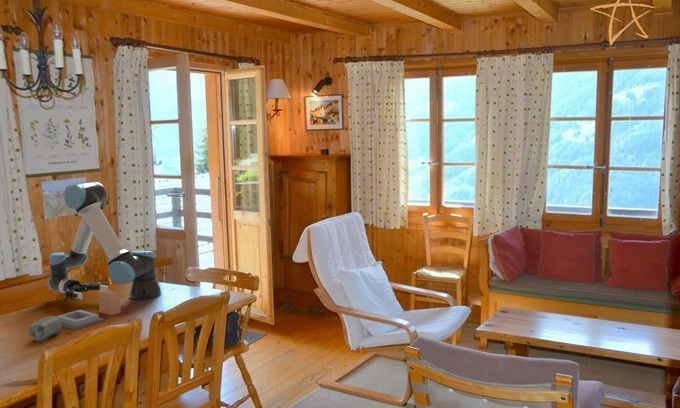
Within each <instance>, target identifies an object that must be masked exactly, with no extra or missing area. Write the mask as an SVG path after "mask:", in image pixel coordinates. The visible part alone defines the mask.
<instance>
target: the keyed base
mask: <svg viewBox="0 0 680 408" xmlns="http://www.w3.org/2000/svg"><path fill="white" fill-rule="evenodd" d="M55 317H57V318H58V319H59V320H60V322H61V325H62V328H66V329H69V330H72V331H75V330H79V329H82V328H85V327H87V326H91V325H94V324H97V323H101V322H104V318H101V317H100V316H99V314H97V313H94V312H90V311H85V310H83V309H77V310H73V311H69V312H66V313H63V314H60V315H55Z"/></svg>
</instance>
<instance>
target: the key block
mask: <svg viewBox="0 0 680 408" xmlns="http://www.w3.org/2000/svg"><path fill="white" fill-rule="evenodd" d="M97 295H98V296H97V298H98V309H99V313H101V314H105V315H108V316H114V315H117V314H120V313H122V310H121V297H120V291H119V290H114V289H111V288H109V289H105V290H101V291H100V290H97Z"/></svg>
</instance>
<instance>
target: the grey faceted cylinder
mask: <svg viewBox="0 0 680 408" xmlns="http://www.w3.org/2000/svg"><path fill="white" fill-rule="evenodd" d="M62 328H63V327H62V325H61V322H60V320H59V319H58V318H57V317H56V315H50V316H46V317H43V318H41V319H39V320H37V321H35V322H34V323H31V325H30V326H29V327H28V334H29V336H30V338H31V339H32V340H34V342H36V343H40V342H43V341H45V340H46V339H48V338H51V337H52V336H54V335H57V334H58V333H60V332H61V331H62Z"/></svg>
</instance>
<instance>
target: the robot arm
mask: <svg viewBox="0 0 680 408" xmlns="http://www.w3.org/2000/svg"><path fill="white" fill-rule="evenodd" d="M107 200H108V192H107V189H106V188H105V186H104V185H103V184H102V183H100V182H99V181H93V180H92V181H87V182H86V181H85V182H80V183H78V182H77V183H74V184H71V185H69V186H68V187H67V188H66V189H65V190H64V195H63V201H64V204H65V205H66V206H67V207H68V208H69V209H72V210H75V212H76V213H77V215H78V216H81V219H80V222H79V225H78V228H77V230H76V233H75V236H74V239H73V242H72V245H71V248H70V250H69V253H67V254H66V253H65V252H63V251H62V252H61V251H59V252H58V251H57V252H52V253H50V254H49V258H48V259H49V262H48V263H49V270H50V277H49V278H48V280H47V286H48V288H49V289H50V290H52V291H53V292H58V293H59V292H60V293H62V294H63V295H64V297H65V299H69V298H70V299H69V300H74V298H75V299H78V300H83V299H84V298H83V297H84V296H83V293H84V292H88V291H101V290H105V289H110V287H109V286H107V285H106V283H105V282H104V283H103V282H87V283H82V282H80V281H79V280H77V279H74V278H69V277H68V270H69V269H72V268H75V267H79V266H82V265H84V264H86V263H87V262H88V260H89V256H88V253H87V251H88V248H89V245H90V242H91V239H92V237H93V235H94V237H95V239H96V240H97V242H98V244H99V246H100V247H101V249H102V250H103V252H104V254H105V255H106V257H107V262H106V264H107V266H108V267H107V275H108V277H109V279H110V280H111V281H112V282H113V283H115V284H117V285H125V284H130V283H131V285H130V290H129V299H132V300H148V299H154V298H157V297H159V296H160V295H161V294H162V290H161V288H160V285H159V282H158V280H157V272H156V270H157V269H156V257H155V252H154V251H152V250H133V251H130V250H127V249H125V247H124V246H123V243H122V242H121V240H120V239H119V237H118V236H117V234H116V232H115V231H114V229H113V227H112V226H111V224H110V222H109V220H108V218H107V216H105V214H104V212H103V210H104V209H105V208H106V207H105V206H106V204H107Z"/></svg>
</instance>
